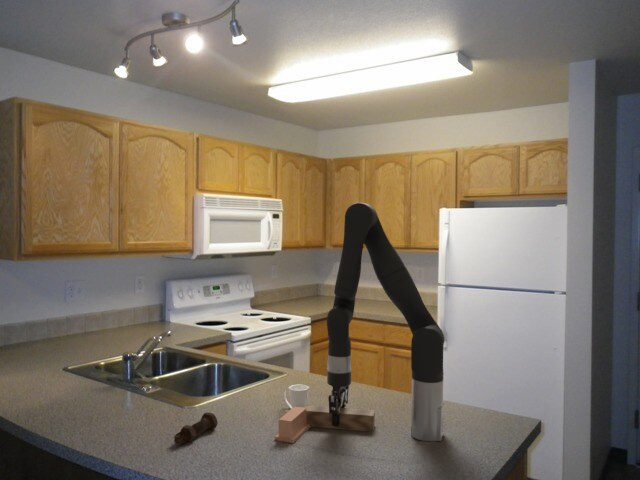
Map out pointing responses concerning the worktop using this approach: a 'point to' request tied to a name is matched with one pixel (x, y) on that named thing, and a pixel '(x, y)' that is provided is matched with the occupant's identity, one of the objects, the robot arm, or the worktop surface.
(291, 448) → the worktop surface
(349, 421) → the walnut bar
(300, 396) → the cup
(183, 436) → the bolt
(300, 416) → the ridge
